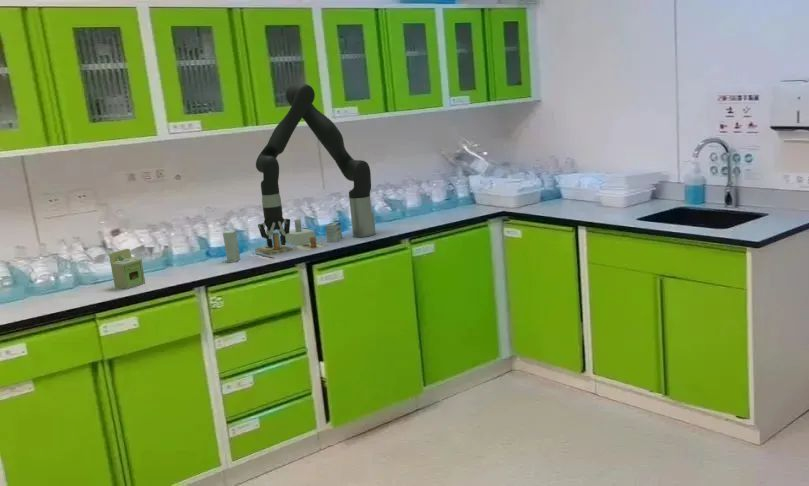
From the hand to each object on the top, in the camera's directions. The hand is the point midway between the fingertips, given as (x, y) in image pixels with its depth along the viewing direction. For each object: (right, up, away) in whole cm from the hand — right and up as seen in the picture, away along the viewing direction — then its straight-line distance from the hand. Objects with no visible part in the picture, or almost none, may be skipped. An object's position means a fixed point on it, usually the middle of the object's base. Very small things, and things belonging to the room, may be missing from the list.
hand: (277, 246), depth 309 cm
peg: (0, -4, +1) cm, 4 cm away
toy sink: (-49, -15, -31) cm, 59 cm away
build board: (-2, -3, +3) cm, 5 cm away
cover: (+7, 0, +17) cm, 19 cm away
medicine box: (+22, +1, +14) cm, 26 cm away
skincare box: (-17, -6, -3) cm, 18 cm away
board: (+13, -2, +5) cm, 14 cm away
